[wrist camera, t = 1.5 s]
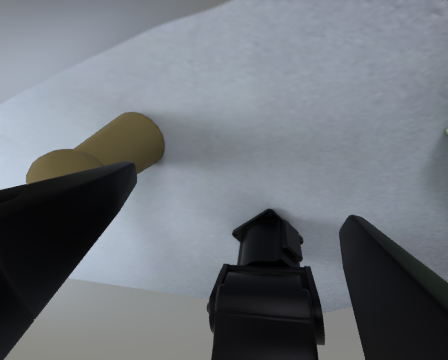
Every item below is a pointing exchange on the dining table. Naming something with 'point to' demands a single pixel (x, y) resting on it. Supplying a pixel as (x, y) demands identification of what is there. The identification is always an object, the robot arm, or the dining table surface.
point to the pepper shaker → (105, 149)
